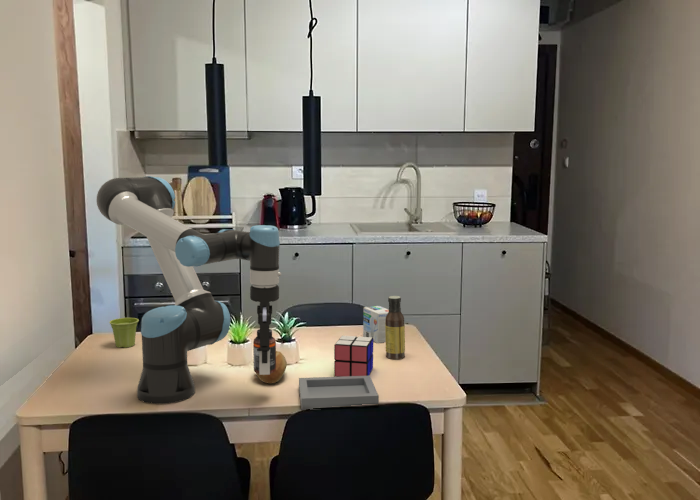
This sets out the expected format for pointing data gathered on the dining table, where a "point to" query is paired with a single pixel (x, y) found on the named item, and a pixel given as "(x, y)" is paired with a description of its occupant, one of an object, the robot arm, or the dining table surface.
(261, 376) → the bread roll
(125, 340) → the plant pot
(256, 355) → the supplement bottle
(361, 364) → the puzzle cube
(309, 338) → the dining table surface
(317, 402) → the tray
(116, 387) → the dining table surface
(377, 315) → the light bulb box
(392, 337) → the sauce bottle
